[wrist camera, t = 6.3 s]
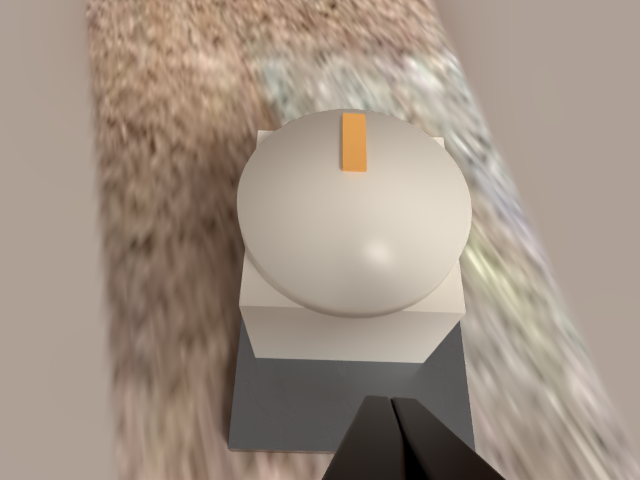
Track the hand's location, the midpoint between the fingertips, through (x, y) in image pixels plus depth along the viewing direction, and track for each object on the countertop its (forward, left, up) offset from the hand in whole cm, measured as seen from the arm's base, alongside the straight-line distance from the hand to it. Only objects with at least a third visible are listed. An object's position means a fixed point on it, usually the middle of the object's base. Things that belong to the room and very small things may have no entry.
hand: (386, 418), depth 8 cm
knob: (+7, 0, -11) cm, 14 cm away
